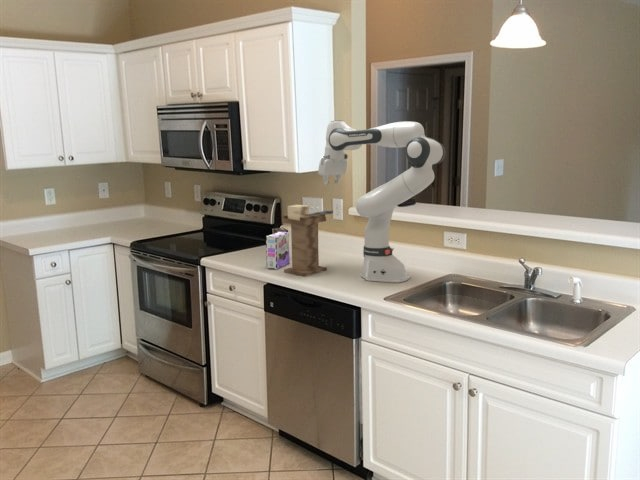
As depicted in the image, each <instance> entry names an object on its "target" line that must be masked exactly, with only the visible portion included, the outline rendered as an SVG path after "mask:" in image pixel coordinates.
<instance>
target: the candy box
mask: <svg viewBox="0 0 640 480" xmlns="http://www.w3.org/2000/svg"><path fill="white" fill-rule="evenodd" d="M265 244H266V245H265V247H266V248H265V250H266V252H265V254H266V255H265V256H266V269H270V270H279V269H281V268H284V267H286V266H287V265H289V264H291V263H290V235H289V231H288V232H278V233H275V234H273V233H272V234H269V235H266V236H265Z"/></svg>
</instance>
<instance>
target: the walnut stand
mask: <svg viewBox="0 0 640 480" xmlns="http://www.w3.org/2000/svg"><path fill="white" fill-rule="evenodd" d="M282 217H283V218H282V223H283V224H289V225H290V235H291V236H290V237H291V267H287V268H284V269H283V272H284V273H286V274H289V273H290V275H294V276H299V277H304V278H305V277H307V276H311V275H314V274H319V273H322V272H326V271H327V270H328V268H327V266H322V265H319V264H320V263H319V258H320V257H319V256H320V255H319V223H323V222H327V217H326V215H325V214H318V215H312V216H306V217H300V220H293V219H288V214H284V215H283V216H282Z"/></svg>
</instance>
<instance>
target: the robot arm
mask: <svg viewBox="0 0 640 480" xmlns="http://www.w3.org/2000/svg"><path fill="white" fill-rule="evenodd" d="M363 145H372V146H378V147H383V148H393V149H394V148H397V149H398V148H405V155H406V157H407V161H408V165H409V166H410V168H408V169H407V170H405V171H403V172H402V173H400V174H399V175H398V176H396V177H394V178H392V179H391V180H389V181H388V182H384V184H381V185H380V186H378V187H376V188H374V189H372V190H370V191H369V192H366V193H365V194H362V196H360V197H359V198H358V199H357V201H356V203H355V209H356V212H357V214H358V215H359V216H360V217H362V218H368V221H367V224H366V225H365V228H364V233H363V234H364V245H363V250H362V251H363V266H362V270H361V275H360V277H361V278H363V279H364V280H366V281H369V282H370V281H371V282H384V283H385V282H386V283H394V284H395V283H396V284H399V283H404V282H406V281H408V280H410V279H411V274H409V273H407V272H406V266H405V264H404V263H403V262H402V261H401V260H400V259H398V258H397V257H396V256H395V255H394V254H393V251H394V250H395V248H394V247H391V246H390V243H389V242H390V240H389V239H390V225H391V221H392V217H393V213H394V210H395V208H396V206H399V205H401V204H402V203H404V202H406V201H408V200H409V199H411V198H412V197H415V196H416V195H418V194H420V193H421V192H422V191H424V190H425V189H427V188H428V186H430V185H431V184H432V183H433V182H434V180H435V173H434V172H435V171H434V170H433V166H436V165H438V164H440V163H442V161H444V159H445V156H446V148H445V147H444V145H443V144H442V143H441V142H440V141H438V140H437V139H435V138H433V137H430V136H426V135H425V129H424V126H423V125H422V124H421V123H420V122H417V121H404V120H403V121H396V122H391V123H386V124H383V125H379V126H376V127H371V128H368V129H367V128H366V129H355V128H353V127H351V126H349V125H348V124H347V123H346V122H345V121H344V120H331V121H329V123H328V124H327V127H326V133H325V147H324V155H322V157H321V159H320V160H319V165H318V170H317V173H318V175H319V176H321V177H322V180H323V185H325V186H327V185H329V180H328V178H329V176H335V179H334V181H333V183H334V184H336V185H337V184H339V182H340V179H341V176H342V175H345V174H346V172H347V169H348V161H347V160H348V158H349V154H347V153H345V151H355V150H358V149H360V148H361V147H362V146H363Z"/></svg>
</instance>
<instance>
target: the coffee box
mask: <svg viewBox="0 0 640 480" xmlns="http://www.w3.org/2000/svg"><path fill="white" fill-rule="evenodd" d="M271 230H272V234H275V233H278V232H289V230H288V229H287V228H284V227H276V228H275V227H274V228H272V229H271Z"/></svg>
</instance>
